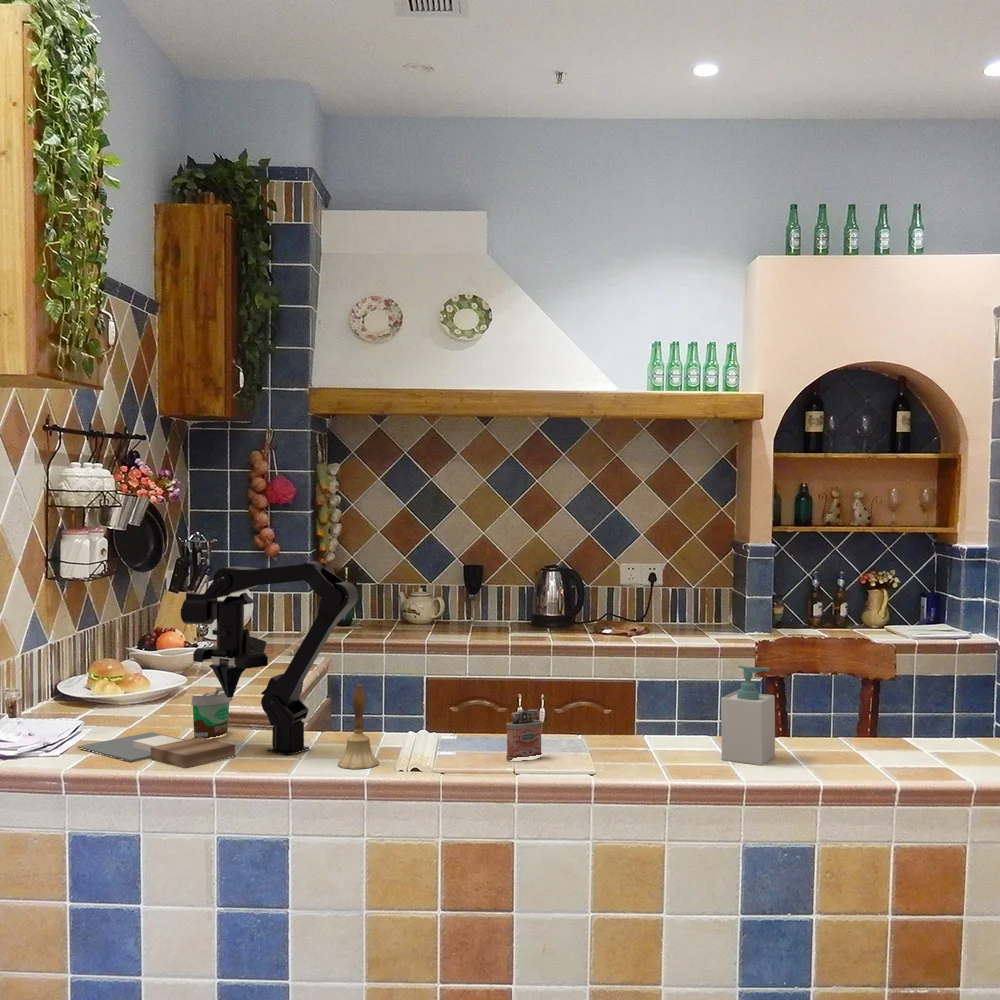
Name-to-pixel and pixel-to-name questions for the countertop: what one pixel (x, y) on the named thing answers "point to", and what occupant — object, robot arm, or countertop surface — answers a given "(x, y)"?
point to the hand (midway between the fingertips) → (229, 697)
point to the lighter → (523, 735)
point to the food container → (210, 714)
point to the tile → (153, 742)
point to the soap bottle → (748, 723)
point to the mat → (122, 747)
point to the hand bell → (358, 738)
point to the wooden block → (192, 752)
